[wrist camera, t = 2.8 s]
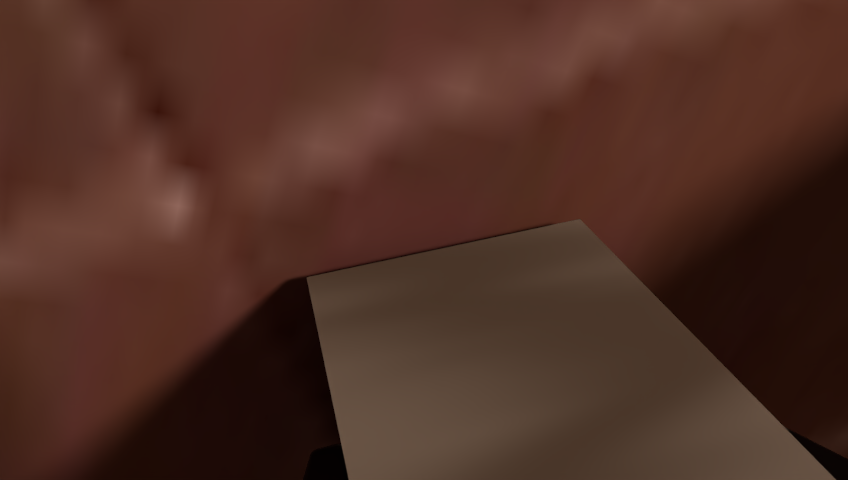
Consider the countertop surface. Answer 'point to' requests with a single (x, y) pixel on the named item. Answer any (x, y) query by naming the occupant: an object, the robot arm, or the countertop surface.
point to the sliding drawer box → (533, 371)
